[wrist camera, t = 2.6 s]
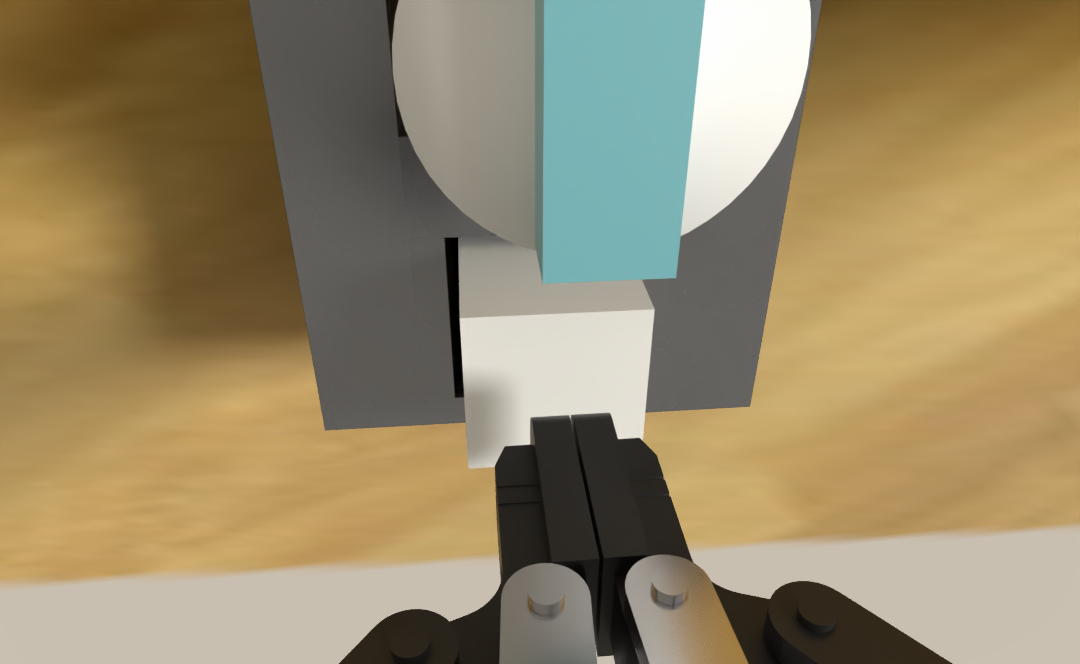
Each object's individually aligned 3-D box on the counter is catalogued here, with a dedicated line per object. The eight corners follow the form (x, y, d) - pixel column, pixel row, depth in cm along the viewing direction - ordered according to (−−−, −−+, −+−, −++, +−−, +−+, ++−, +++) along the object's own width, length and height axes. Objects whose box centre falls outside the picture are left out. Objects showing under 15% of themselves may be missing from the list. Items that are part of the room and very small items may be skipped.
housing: (265, -289, 17) (188, -339, 12) (760, -281, 18) (879, -324, 13) (350, 310, 25) (325, 430, 20) (692, 295, 26) (749, 406, 21)
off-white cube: (457, 213, 20) (459, 318, 15) (611, 208, 20) (655, 309, 16) (465, 343, 22) (468, 468, 17) (604, 337, 22) (640, 457, 18)
